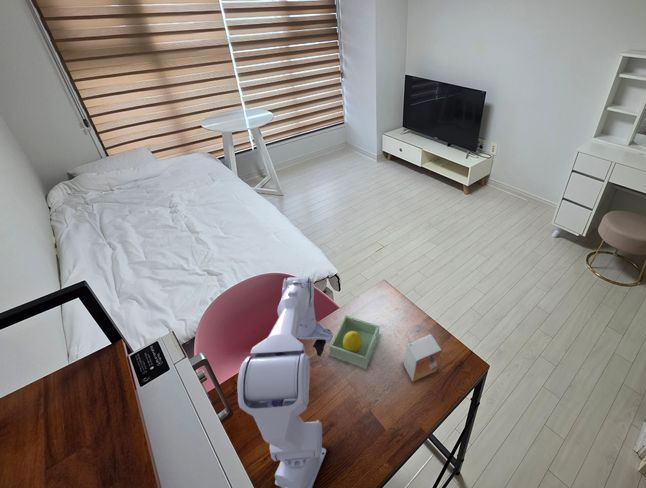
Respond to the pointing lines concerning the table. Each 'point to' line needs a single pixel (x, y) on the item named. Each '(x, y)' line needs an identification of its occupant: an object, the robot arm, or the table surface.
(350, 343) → the lemon
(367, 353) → the green square open tray
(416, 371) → the white toy house
